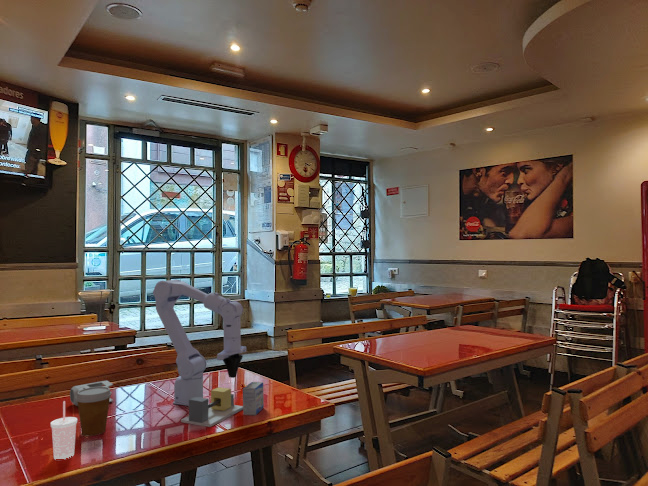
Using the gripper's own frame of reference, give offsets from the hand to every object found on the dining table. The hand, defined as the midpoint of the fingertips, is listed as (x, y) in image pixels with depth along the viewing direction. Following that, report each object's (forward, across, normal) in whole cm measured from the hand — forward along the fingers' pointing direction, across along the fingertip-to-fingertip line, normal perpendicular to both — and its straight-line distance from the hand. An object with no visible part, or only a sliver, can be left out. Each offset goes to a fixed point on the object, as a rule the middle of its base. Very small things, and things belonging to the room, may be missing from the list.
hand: (232, 377), depth 161 cm
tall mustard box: (+8, -6, 0) cm, 11 cm away
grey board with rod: (+10, -10, 0) cm, 14 cm away
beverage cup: (+10, -50, +17) cm, 54 cm away
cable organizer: (+10, -17, +47) cm, 51 cm away
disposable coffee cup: (+10, -36, +24) cm, 44 cm away
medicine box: (+10, -2, -10) cm, 14 cm away
